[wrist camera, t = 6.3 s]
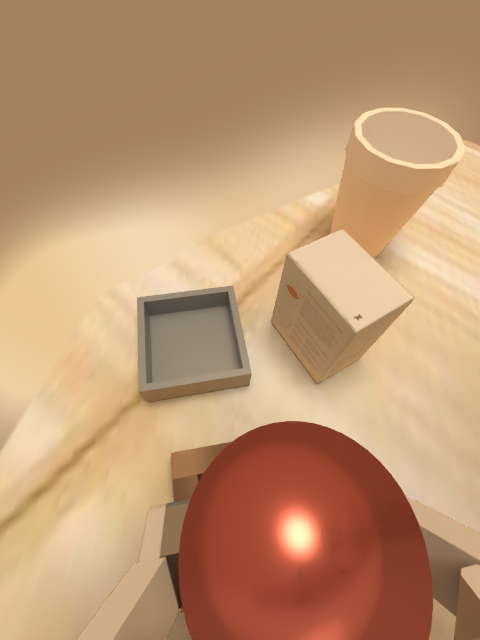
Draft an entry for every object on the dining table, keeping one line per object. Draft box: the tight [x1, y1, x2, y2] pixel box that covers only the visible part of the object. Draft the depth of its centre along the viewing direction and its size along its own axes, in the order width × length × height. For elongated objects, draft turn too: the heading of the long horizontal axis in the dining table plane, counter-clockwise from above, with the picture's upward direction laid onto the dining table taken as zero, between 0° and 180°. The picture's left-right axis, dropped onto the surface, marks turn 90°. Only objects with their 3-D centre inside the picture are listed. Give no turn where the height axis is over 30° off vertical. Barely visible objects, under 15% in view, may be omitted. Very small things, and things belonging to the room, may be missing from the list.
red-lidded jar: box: [178, 421, 433, 640], centre depth 10 cm, size 4×4×12 cm
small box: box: [271, 229, 414, 384], centre depth 26 cm, size 8×6×10 cm
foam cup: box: [330, 108, 465, 258], centre depth 32 cm, size 10×9×13 cm
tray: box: [137, 286, 251, 402], centre depth 28 cm, size 9×9×3 cm
